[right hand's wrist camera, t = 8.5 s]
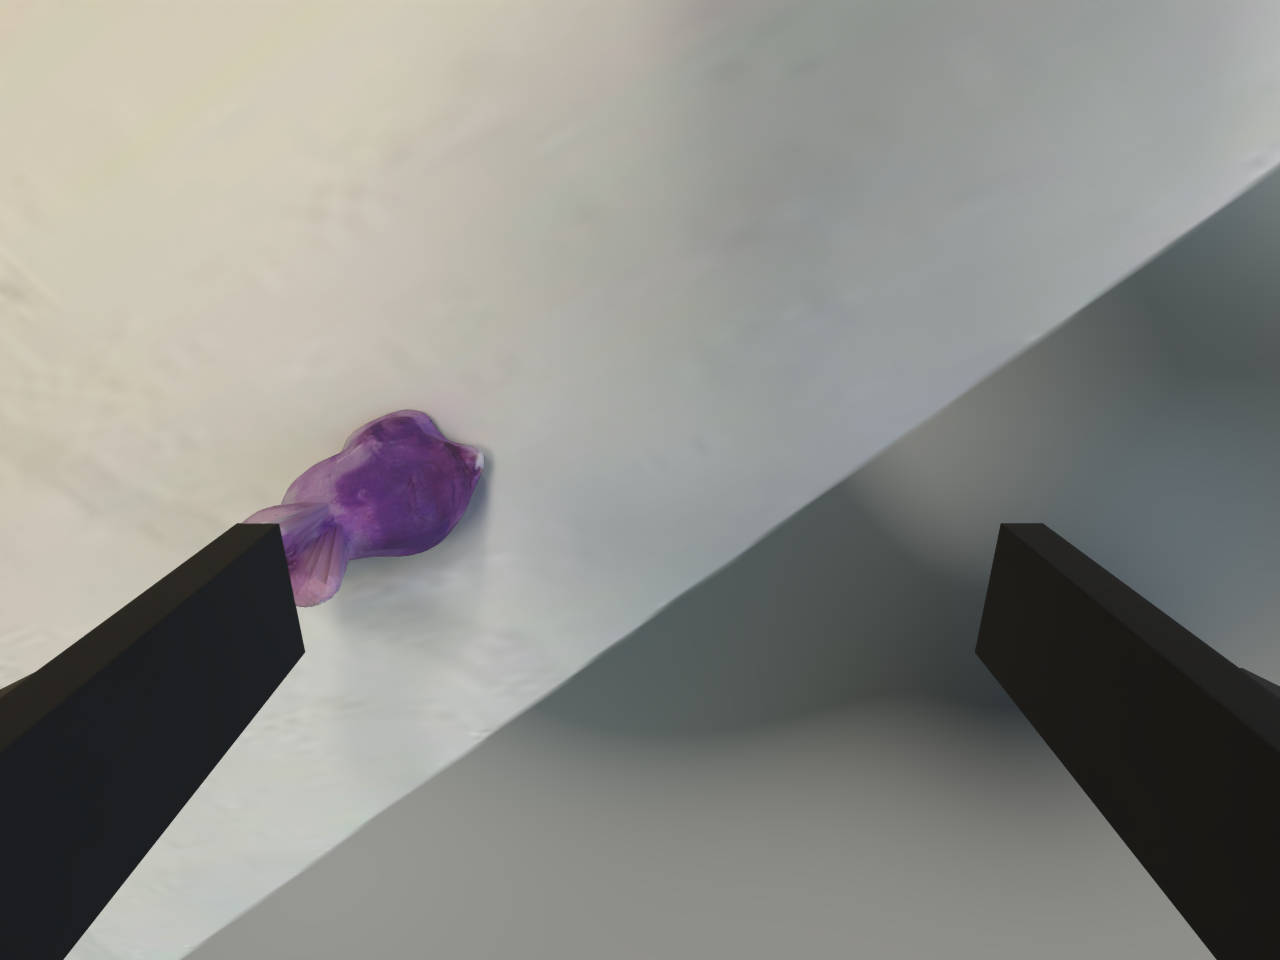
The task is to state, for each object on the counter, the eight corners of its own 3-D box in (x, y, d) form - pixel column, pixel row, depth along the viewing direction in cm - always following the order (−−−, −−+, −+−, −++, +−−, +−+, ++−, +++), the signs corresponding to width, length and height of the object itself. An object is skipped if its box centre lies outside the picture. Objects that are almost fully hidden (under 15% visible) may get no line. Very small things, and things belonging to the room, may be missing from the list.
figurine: (301, 515, 44) (144, 647, 30) (354, 375, 41) (206, 450, 27) (438, 574, 46) (349, 727, 32) (498, 444, 43) (430, 549, 28)
